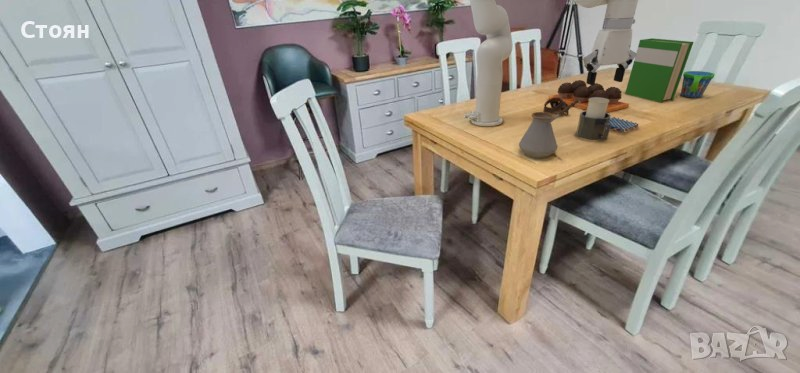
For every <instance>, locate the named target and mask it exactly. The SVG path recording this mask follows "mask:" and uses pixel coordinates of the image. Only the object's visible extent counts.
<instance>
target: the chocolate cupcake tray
mask: <svg viewBox="0 0 800 373" xmlns="http://www.w3.org/2000/svg"><path fill="white" fill-rule="evenodd" d="M622 92H623V91H622V90H621V89H620V88H619V87H616V86H610V87H608V88H606V89H605V88H604V86H603V85H602V84H600V83H598V82H595V84H594V85H590V84H589V86H588V85H587V83H586V81H584V80H581V79H579V80H575V81H573V82H564V83H561V85H560V86H558V88H557V94H553V95H549V96H548V100H549V99H551V98H553V97H560V98H562V99H563V100H564V101H565V102H566V103H567V106H569V105H571V103H574V102H575V101H576V100H579V101H580V102H581V103H580V102H579V101H578V103H576V104H577V105H576V104H575V105H574V106H573V108H578V109H582V110H584V111H587V107H588V103H589V101H588V100H589V98H593V97H600V98H606V99H609V103H608V106H607V110H606V113H611V112H614V111H619V110H622V109H625V108H629V106H630V103H628V102H623V101H620V100H621V99H622V96H623V95H622ZM558 102H559V103H560V101H558ZM578 105H580V106H578Z"/></svg>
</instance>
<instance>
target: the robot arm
mask: <svg viewBox="0 0 800 373" xmlns="http://www.w3.org/2000/svg"><path fill="white" fill-rule="evenodd" d="M572 1H573V2H575V3H576V4H577V5H579V6H581V7H583V8H586V9H591V8H596V7H600V6H606V9H605V14H604V19H603V23H602V28H601V29H599V31H598V33H597V35H596V37H595V40H594V43H593V47H592V49H591V53H589V54H587V55H586V56H584V57H583V58H582V60H583V64H584V67H585V69H586V71H587V76H586V81H585V83H586V85H589V86H590V85H594V84H595V83H596V80H597V76H598V72H597V70H598V69H600V67H601V66H611V65H612V66H613V65H616V66H617V67H616V69H615V72H614V76H613V81H615V82H617V83H622V82H623V80H624V77H625V73H626V70H627V69H628V68H629V66H630V65H631V64H632V63H633V62H634V60H635V56H636V55H637V54H636V53H637V52H635V51H633V50H632V49H631V47H632V40H633V28H632V27H633V25H634V24H635V23H636V19H635V16H636V15H635V14H636V10H637V6H638V2H639V0H572ZM469 3H470V10H471V14H472V21H473V25H474V29H475V31H476V33H477V34H478V35H481V36H486V39H485V40H484V41H481V43H480V44H479V46H478V48H477V51H476V92H475V109H472V111H471V112H470V113H469V112H466V113H463V115H462V116H463V119H468V120H470V123H472V124H473V125H476V126H478V127H496V126H500V125H501V124H502V123H503V118H502V117H501V116H500V110H501V100H502V88H503V78H504V71H503V70H504V69H503V62H504V61H506V60H507V59H508V58H509V57H510V56H511V54H512V52H513V38H512V32H511V25H510V19H509V15H508V12H507V10H506V9H505V8H504V7H503V6H502V5H500V4H497V2H496V0H469Z"/></svg>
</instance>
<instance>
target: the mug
mask: <svg viewBox="0 0 800 373" xmlns="http://www.w3.org/2000/svg"><path fill="white" fill-rule="evenodd" d="M586 112H587V110H584V111H581V112H580V114H579V118H578V122H577V128H576V133H575V134H576V136H577V137H578V138H580V139H585V140H589V141H599V140H603V141H607V140H608V137H609V134H610V131H611V130H610V127H611V125H610V124H609V121H610V118H612V115H611V114H610V113H609V112H607V113H605V117H604V118H590V117H586Z"/></svg>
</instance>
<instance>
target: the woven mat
mask: <svg viewBox="0 0 800 373" xmlns="http://www.w3.org/2000/svg"><path fill="white" fill-rule="evenodd" d="M609 124H610V125H611V127H610V131H613V132H617V133H621V134H624V133H627V132H629V131H631V130H636V129H637V128H639V127H640V126H639V123H637V122H633V121H629V120H624V119H623V118H622V119H620V118H619V117H618V118H617V117H615V116H613V117H610V121H609Z"/></svg>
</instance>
